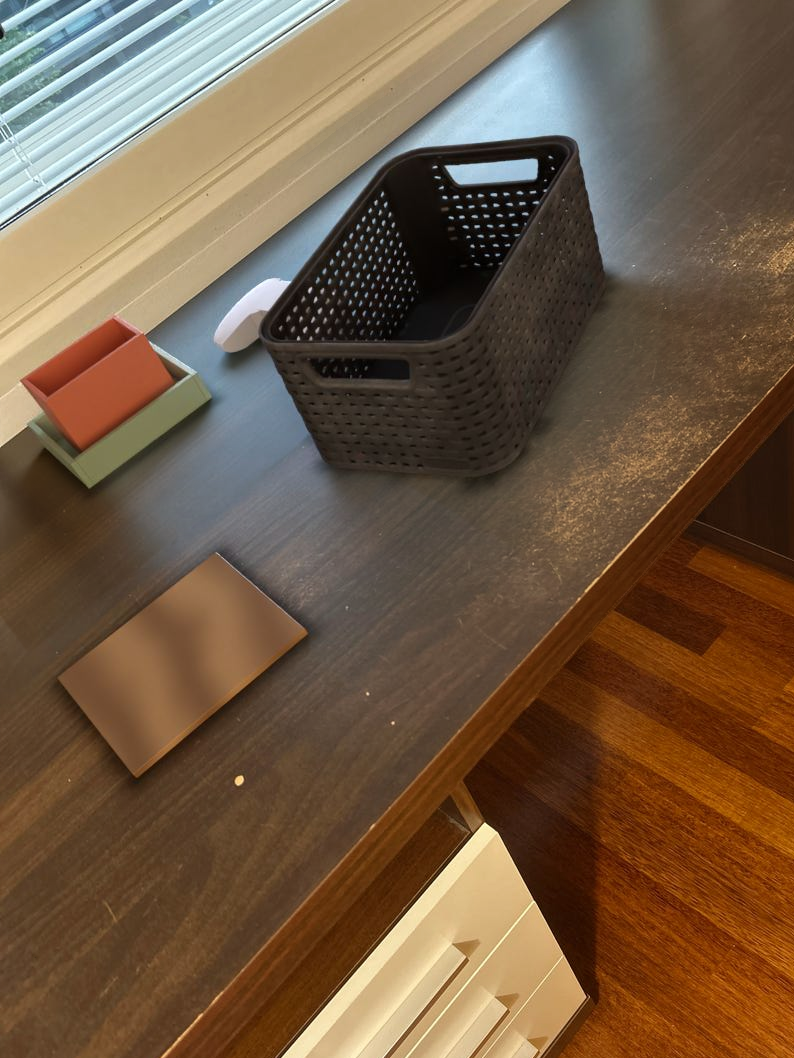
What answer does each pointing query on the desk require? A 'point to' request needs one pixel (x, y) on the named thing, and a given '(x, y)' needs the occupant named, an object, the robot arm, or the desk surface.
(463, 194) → the storage bin
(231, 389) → the desk surface
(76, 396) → the coral bin
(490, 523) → the desk surface
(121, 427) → the green bin
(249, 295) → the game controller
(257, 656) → the metal plate
